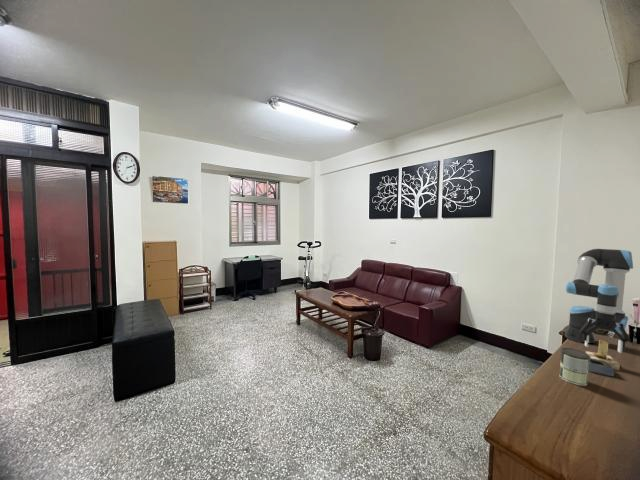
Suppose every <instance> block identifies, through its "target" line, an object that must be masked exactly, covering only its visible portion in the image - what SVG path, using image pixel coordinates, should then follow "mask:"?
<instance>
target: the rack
mask: <svg viewBox="0 0 640 480" xmlns="http://www.w3.org/2000/svg"><path fill="white" fill-rule="evenodd" d="M585 353H587V354H588V355H589V356H590V358H592V359H597V360H602V361H606V362H607V363H608V364H609V365H610V366H611V367H612V368H613V369H614V371H620V365H621V364H620V363H619V362H618V361H616V360H615V359H614V358H613V357H612V356H611V355H608V354H607V359H600V358H597V355H598V352H594V351H593V352H592V351H589V350H585Z"/></svg>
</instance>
